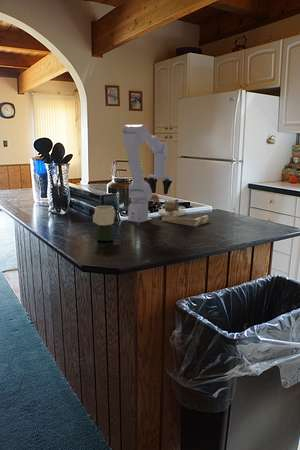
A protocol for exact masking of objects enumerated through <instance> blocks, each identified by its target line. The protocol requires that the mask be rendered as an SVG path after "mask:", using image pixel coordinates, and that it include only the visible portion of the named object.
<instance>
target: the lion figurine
mask: <svg viewBox="0 0 300 450" xmlns="http://www.w3.org/2000/svg"><path fill="white" fill-rule="evenodd" d="M149 202H153V203H152V204H154V205H155V204H156V203H157V205H158V204H160V205H161V202H160V197H159V195H157V194H156V193H152V198H151V199H150V201H149Z"/></svg>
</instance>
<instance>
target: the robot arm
mask: <svg viewBox="0 0 300 450" xmlns="http://www.w3.org/2000/svg"><path fill="white" fill-rule="evenodd" d="M148 129H149V128H148V127H147V126H146V124H142V123H141V124H125V125H124V126H123V128H122V131H121V135H122V139H123V141H122V142H123V144H124V146H125V152H126V155H127V159H128V160H127V161H128V166H129V171H130V175H131V180H132V182H131V183H130V184H129V186H128V197H129V199H130V200H131V202H132V203H130V204H129V205H128V207H127V212H128V213H127V215H128V216H127V219H126V221H129V222H133V223H134V222H135V223H144V222H147V221H151V220H152V217H151V218H150V217H149V202H151V201H150V199H151V198H152V194H156V192H157V182H158V180H161V181H162V185H163V195H168V193H169V190H170V186H171V184H172V183H173V180H174V179H173V177H174V176H171V175H166V174H167V173H166V166H167V163H166V161H167V158H168V152H169V147H168V144H167V143H166V142H162V141H161V140H160V139H159V138H158V136H157V135H152V134H151V133H150V132H149V131H148ZM144 142H146V145H147V147H149V148H150V149H151V151H152V154H154V155H153V156H154V166H153V167H154V168H153V169H154V173H153V174H147V181H145V178H144V174H143V169H142V168H143V167H142V164H141V162H142V161H141V158H140V152H139V148H140V147H141V146H142V145H143V143H144Z"/></svg>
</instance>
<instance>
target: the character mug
mask: <svg viewBox="0 0 300 450" xmlns="http://www.w3.org/2000/svg"><path fill="white" fill-rule="evenodd" d="M115 217H116V210H115V208H114V206H112V205H97V206H95V207H94V214H92V221H93V223H95V224H96V225H98V226H97V231H96V241H101V242H108V241H112V240H113V239H114V236H113V235H114V234H113V233H114V232H113V228H112V225H113V224H114V223H115V219H116V218H115Z"/></svg>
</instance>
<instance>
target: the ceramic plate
mask: <svg viewBox="0 0 300 450" xmlns="http://www.w3.org/2000/svg"><path fill="white" fill-rule="evenodd" d="M159 213H160V214H159ZM165 213H169V212H167V211H165V208H161V209H159V210H158V214H159V216H162V214H165ZM186 213H187V210H185V209H183V208H179V211H178V215H177V216H178V217H183V216H185V215H186Z"/></svg>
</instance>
